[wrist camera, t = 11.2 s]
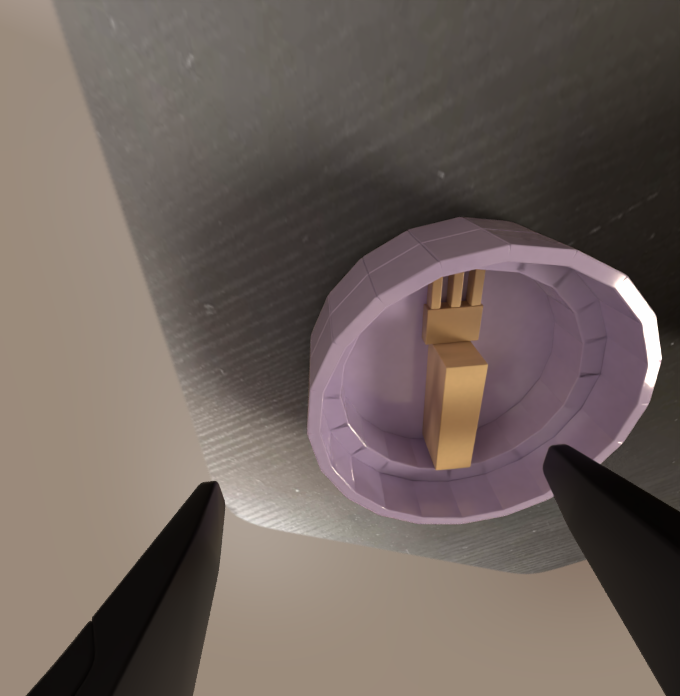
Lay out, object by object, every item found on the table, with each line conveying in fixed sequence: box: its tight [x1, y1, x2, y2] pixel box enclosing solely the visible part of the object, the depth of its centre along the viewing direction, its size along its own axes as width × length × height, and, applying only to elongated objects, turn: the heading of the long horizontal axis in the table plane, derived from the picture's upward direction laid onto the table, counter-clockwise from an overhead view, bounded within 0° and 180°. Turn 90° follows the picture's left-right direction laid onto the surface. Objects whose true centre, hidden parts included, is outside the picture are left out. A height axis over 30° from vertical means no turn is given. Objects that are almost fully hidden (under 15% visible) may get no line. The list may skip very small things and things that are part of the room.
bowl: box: [307, 217, 662, 524], centre depth 18 cm, size 15×15×6 cm
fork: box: [422, 269, 488, 470], centre depth 19 cm, size 11×3×3 cm, turn 4°
